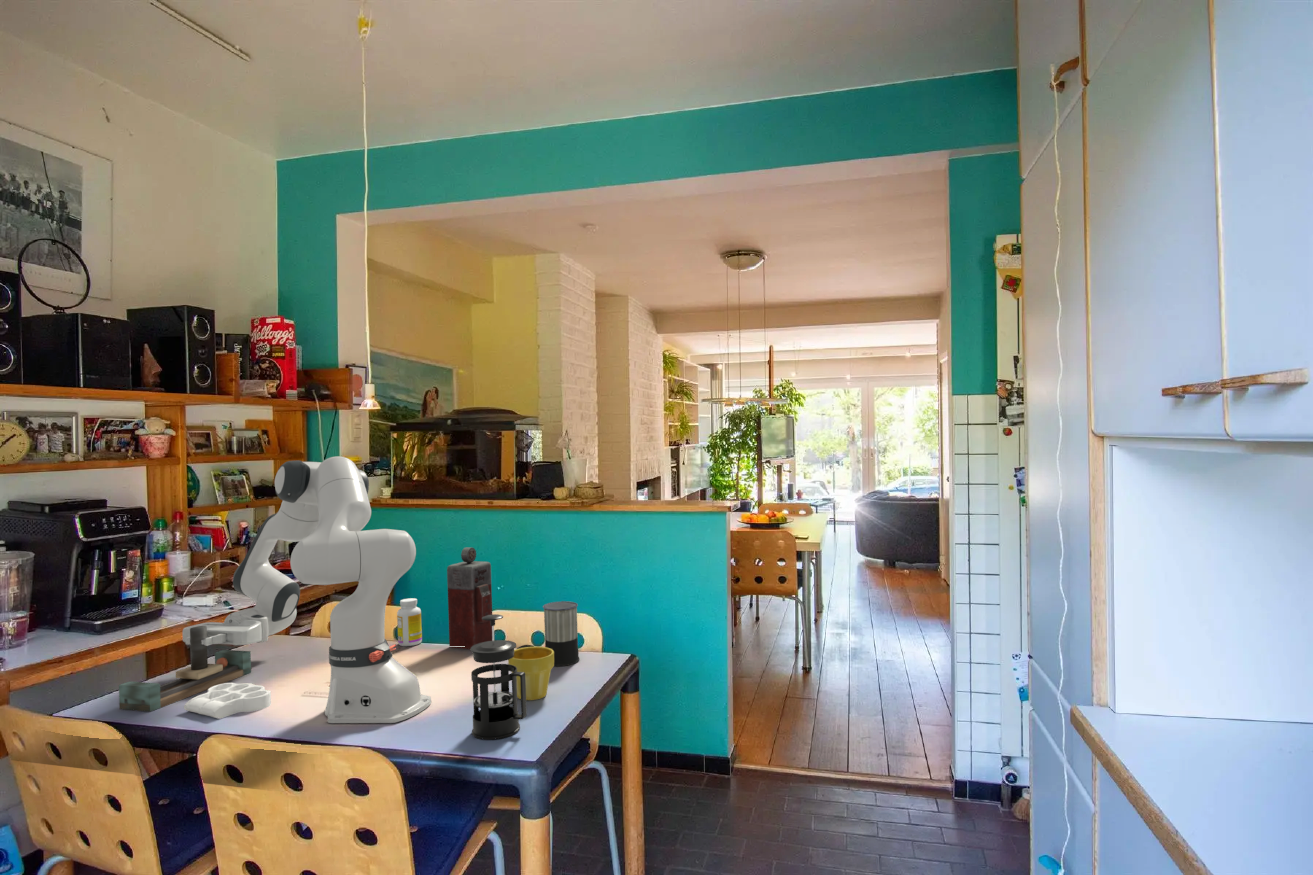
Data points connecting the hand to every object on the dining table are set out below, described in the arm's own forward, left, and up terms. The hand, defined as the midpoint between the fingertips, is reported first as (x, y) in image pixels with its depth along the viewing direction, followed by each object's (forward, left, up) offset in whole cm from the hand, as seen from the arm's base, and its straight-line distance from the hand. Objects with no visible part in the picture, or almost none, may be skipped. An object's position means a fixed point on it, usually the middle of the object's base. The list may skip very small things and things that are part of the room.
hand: (195, 642), depth 178 cm
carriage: (0, -1, -8) cm, 8 cm away
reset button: (0, -7, -9) cm, 11 cm away
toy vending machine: (-51, -45, -11) cm, 69 cm away
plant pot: (-86, -9, -11) cm, 87 cm away
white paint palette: (-20, +9, -12) cm, 25 cm away
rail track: (0, +2, -11) cm, 11 cm away
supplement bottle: (-31, -43, -11) cm, 54 cm away
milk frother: (-79, -33, -11) cm, 86 cm away
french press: (-88, +11, -11) cm, 89 cm away
